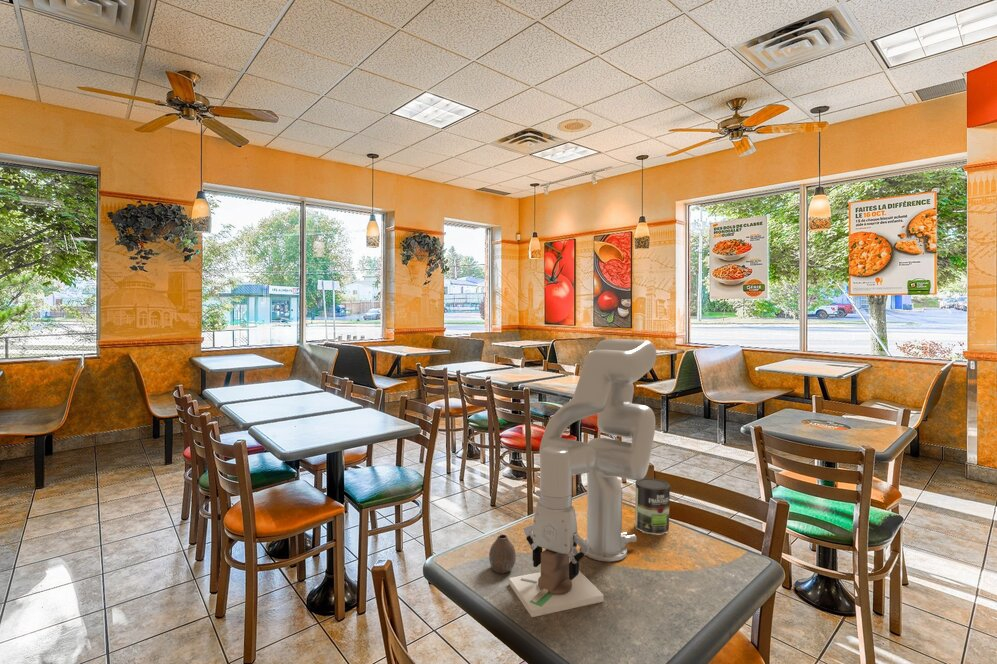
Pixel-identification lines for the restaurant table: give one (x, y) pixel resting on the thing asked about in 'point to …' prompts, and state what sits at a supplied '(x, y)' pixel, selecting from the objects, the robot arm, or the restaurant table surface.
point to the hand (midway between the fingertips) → (555, 570)
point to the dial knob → (553, 574)
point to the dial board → (550, 603)
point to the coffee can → (652, 506)
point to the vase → (502, 555)
